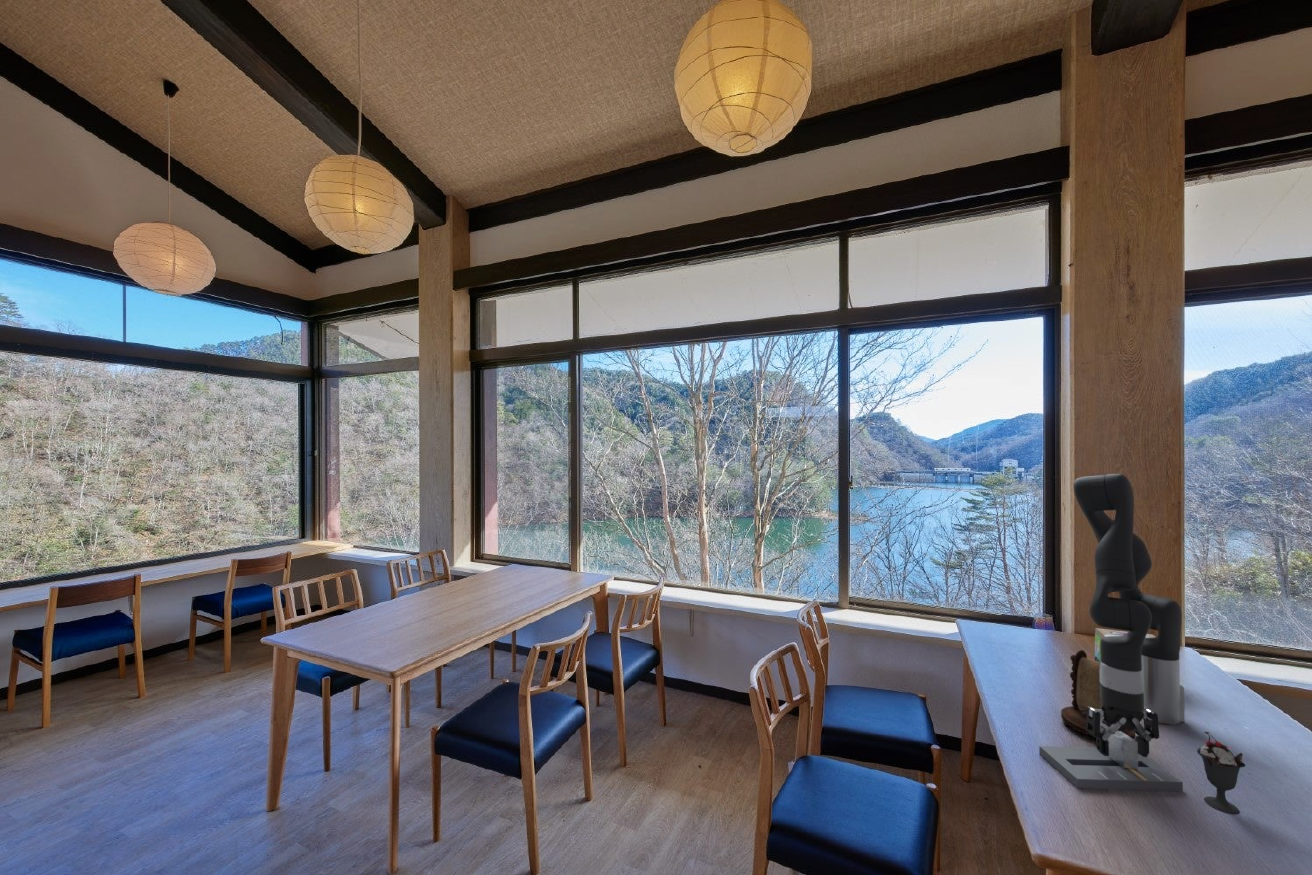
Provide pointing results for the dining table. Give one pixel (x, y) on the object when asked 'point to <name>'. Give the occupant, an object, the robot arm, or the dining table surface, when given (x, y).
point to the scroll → (1084, 693)
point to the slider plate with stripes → (1107, 770)
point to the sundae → (1221, 773)
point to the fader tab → (1123, 750)
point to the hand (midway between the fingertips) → (1122, 754)
